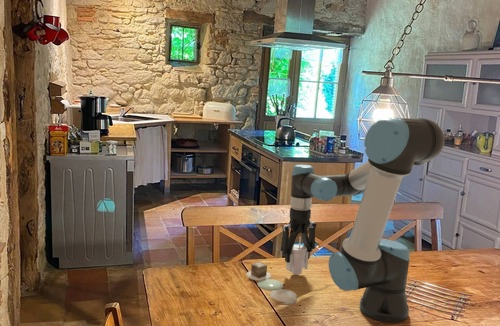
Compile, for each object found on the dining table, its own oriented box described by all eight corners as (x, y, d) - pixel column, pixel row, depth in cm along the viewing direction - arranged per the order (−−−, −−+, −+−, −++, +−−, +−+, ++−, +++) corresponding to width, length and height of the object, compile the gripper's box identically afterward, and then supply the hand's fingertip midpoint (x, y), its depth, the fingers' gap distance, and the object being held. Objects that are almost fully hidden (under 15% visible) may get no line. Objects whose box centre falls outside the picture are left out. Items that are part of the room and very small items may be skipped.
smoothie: (306, 276, 166) (308, 239, 164) (288, 275, 166) (290, 238, 164) (304, 269, 172) (306, 233, 170) (287, 268, 173) (289, 232, 170)
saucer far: (275, 281, 166) (275, 278, 166) (253, 285, 162) (253, 282, 162) (263, 271, 174) (263, 268, 174) (241, 275, 170) (242, 272, 170)
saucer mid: (288, 291, 159) (288, 287, 159) (265, 295, 155) (265, 292, 155) (274, 280, 167) (274, 277, 167) (252, 284, 163) (253, 281, 162)
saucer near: (302, 302, 152) (302, 298, 151) (278, 307, 147) (279, 303, 147) (287, 290, 159) (287, 287, 159) (264, 295, 155) (265, 291, 155)
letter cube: (266, 275, 168) (267, 264, 167) (258, 278, 165) (259, 267, 164) (258, 271, 171) (259, 261, 170) (250, 274, 168) (251, 263, 167)
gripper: (316, 203, 173) (312, 261, 177) (272, 207, 164) (269, 269, 168) (328, 208, 167) (323, 268, 170) (283, 212, 158) (280, 276, 161)
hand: (296, 268), depth 169 cm, fingers closed on smoothie, 6 cm apart
